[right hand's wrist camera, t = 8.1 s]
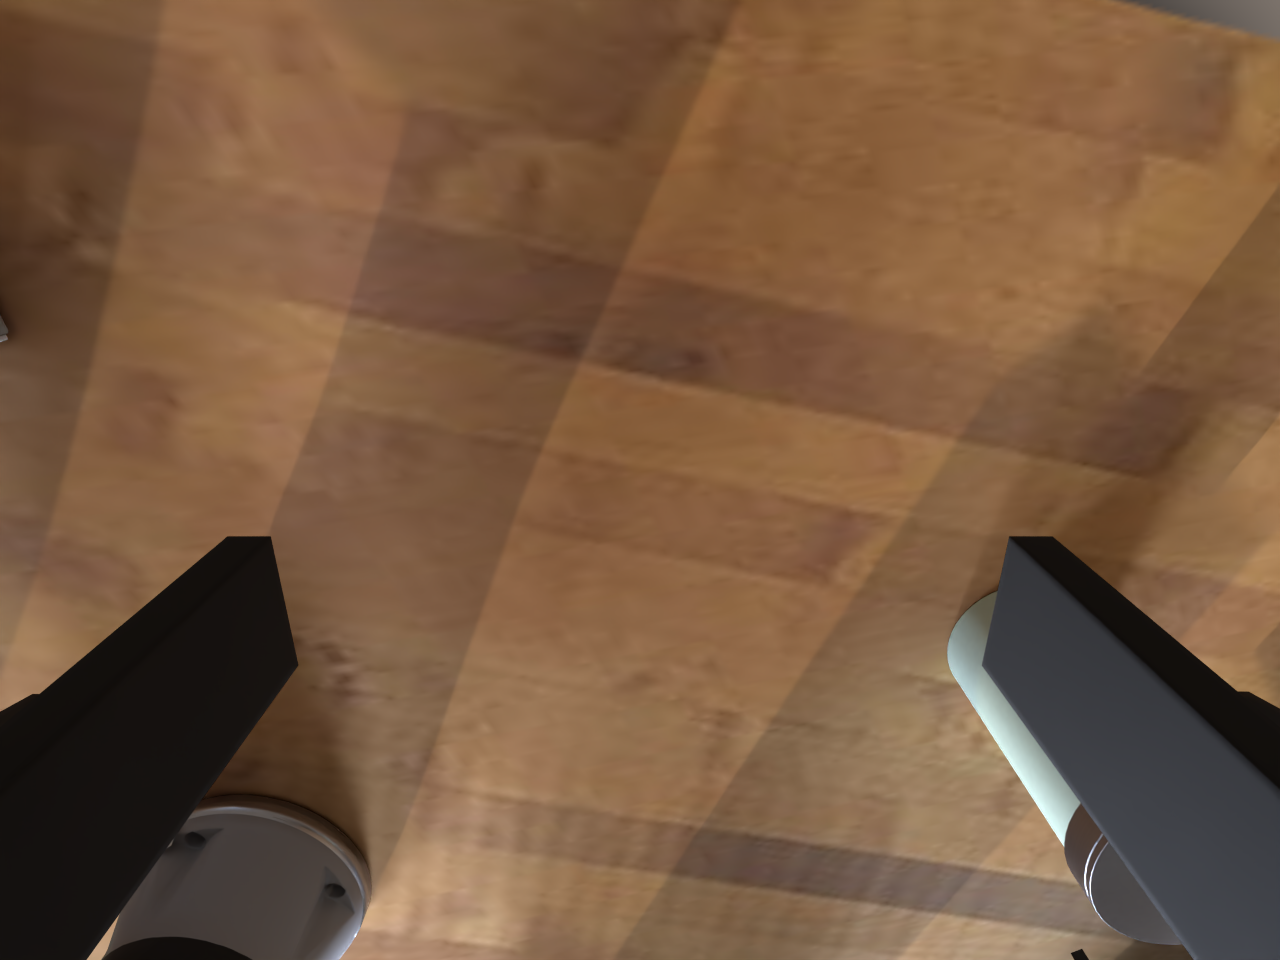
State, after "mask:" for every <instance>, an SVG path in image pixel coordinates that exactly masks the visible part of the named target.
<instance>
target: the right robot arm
mask: <svg viewBox="0 0 1280 960" xmlns="http://www.w3.org/2000/svg"><path fill="white" fill-rule="evenodd" d="M297 667H298V661H297V657H296V652H295V648H294V643H293V638H292V634H291V629H290V624H289V620H288V615H287V610H286V606H285V601H284V596H283V592H282V587H281V582H280V578H279V573H278V568H277V564H276V559H275V554H274V550H273V545H272V540H271V536H228V537H226V538H225V539H224V540H223V541H222V542H220V543H219V544H218V545H217V546H216V547H214V548H213V549H212V550H211V551H210V552H208V553H207V554H206V555H205V556H204V557H202V558H201V559H200V560H199V561H198V562H197V563H195V564H194V565H193V566H192V567H191V568H189V569H188V570H187V571H186V572H185V573H183V574H182V575H181V576H180V577H179V578H177V579H176V580H175V581H174V582H173V583H171V584H170V585H169V586H168V587H167V588H166V589H164V590H163V591H162V592H161V593H160V594H158V595H157V596H156V597H155V598H154V599H152V600H151V601H150V602H149V603H148V604H146V605H145V606H144V607H143V608H142V609H140V610H139V611H138V612H137V613H136V614H135V615H133V616H132V617H131V618H130V619H129V620H127V621H126V622H125V623H124V624H123V625H121V626H120V627H119V628H118V629H117V630H115V631H114V632H113V633H112V634H111V635H109V636H108V637H107V638H106V639H105V640H103V641H102V642H101V643H100V644H99V645H98V646H96V647H95V648H94V649H93V650H92V651H90V652H89V653H88V654H87V655H86V656H84V657H83V658H82V659H81V660H80V661H78V662H77V663H76V664H75V665H74V666H72V667H71V668H70V669H69V670H68V671H67V672H65V673H64V674H63V675H62V676H61V677H59V678H58V679H57V680H56V681H55V682H53V683H52V684H51V685H50V686H49V687H47V688H46V689H45V690H44V691H43V692H41V693H40V694H32V695H30V696H28V697H26V698H24V699H23V700H21V701H19V702H17V703H15V704H14V705H12V706H10V707H8V708H6V709H4V710H3V711H1V712H0V960H87V958H88V957H89V955H90V954H91V953H92V951H93V950H94V949H95V947H96V946H97V944H98V943H99V942H100V940H101V939H102V937H103V936H104V935H105V933H106V932H107V930H108V929H109V928H110V926H111V925H112V924H113V922H114V921H115V919H116V918H117V917H118V915H119V914H120V915H119V917H118V920H117V923H116V926H115V929H114V932H113V935H112V938H111V941H110V944H109V947H108V950H107V952H106V954H105V955H104V957H103V958H102V960H339V959H340V958H341V956H342V955H343V954H344V953H345V951H346V950H347V949H348V947H349V946H350V944H351V943H352V941H353V939H354V938H355V936H356V935H357V933H358V931H359V929H360V927H361V924H362V922H363V919H364V917H365V914H366V911H367V909H368V906H369V903H370V899H371V890H372V885H371V877H370V873H369V870H368V867H367V865H366V862H365V860H364V858H363V857H362V855H361V853H360V852H359V850H358V849H357V847H356V846H355V845H354V844H353V843H352V841H351V840H350V839H349V838H348V837H347V836H346V835H345V834H344V833H343V832H341V831H340V830H339V829H338V828H337V827H335V826H334V825H333V824H331V823H330V822H328V821H327V820H325V819H324V818H322V817H320V816H319V815H317V814H315V813H313V812H311V811H309V810H307V809H304V808H302V807H300V806H297V805H294V804H291V803H288V802H285V801H281V800H278V799H273V798H268V797H262V796H254V795H227V796H218V797H213V798H208V799H204V800H202V798H203V797H204V796H205V794H206V793H207V792H208V790H209V789H210V787H211V786H212V785H213V783H214V782H215V780H216V779H217V778H218V776H219V775H220V773H221V772H222V771H223V769H224V768H225V767H226V765H227V764H228V762H229V761H230V760H231V758H232V757H233V755H234V754H235V753H236V751H237V750H238V748H239V747H240V746H241V744H242V743H243V742H244V740H245V739H246V737H247V736H248V735H249V733H250V732H251V730H252V729H253V728H254V726H255V725H256V723H257V722H258V721H259V719H260V718H261V717H262V715H263V714H264V712H265V711H266V710H267V708H268V707H269V705H270V704H271V703H272V701H273V700H274V698H275V697H276V696H277V694H278V693H279V692H280V690H281V689H282V687H283V686H284V685H285V683H286V682H287V680H288V679H289V678H290V676H291V675H292V673H293V672H294V671H295V669H296V668H297ZM982 667H983V668H984V669H985V671H986V672H987V673H988V675H989V676H990V678H991V679H992V680H993V682H994V683H995V685H996V686H997V687H998V689H999V690H1000V692H1001V693H1002V694H1003V696H1004V697H1005V698H1006V700H1007V701H1008V703H1009V704H1010V705H1011V707H1012V708H1013V710H1014V711H1015V712H1016V714H1017V715H1018V717H1019V718H1020V719H1021V721H1022V722H1023V723H1024V725H1025V726H1026V728H1027V729H1028V730H1029V732H1030V733H1031V735H1032V736H1033V737H1034V739H1035V740H1036V742H1037V743H1038V744H1039V746H1040V747H1041V748H1042V750H1043V751H1044V753H1045V754H1046V755H1047V757H1048V758H1049V760H1050V761H1051V762H1052V764H1053V765H1054V767H1055V768H1056V769H1057V771H1058V772H1059V773H1060V775H1061V776H1062V778H1063V779H1064V780H1065V782H1066V783H1067V785H1068V786H1069V787H1070V789H1071V790H1072V792H1073V793H1074V794H1075V796H1076V797H1077V798H1078V800H1079V801H1080V803H1081V804H1082V805H1083V807H1084V808H1085V810H1086V811H1087V812H1088V814H1089V815H1090V817H1091V818H1092V819H1093V821H1094V822H1095V824H1096V825H1097V826H1098V828H1099V829H1100V830H1101V832H1102V833H1103V835H1104V836H1105V837H1106V839H1107V840H1108V842H1109V843H1110V844H1111V846H1112V847H1113V849H1114V850H1115V851H1116V853H1117V854H1118V855H1119V857H1120V858H1121V860H1122V861H1123V862H1124V864H1125V865H1126V867H1127V868H1128V869H1129V871H1130V872H1131V874H1132V875H1133V876H1134V878H1135V879H1136V880H1137V882H1138V883H1139V885H1140V886H1141V887H1142V889H1143V890H1144V892H1145V893H1146V894H1147V896H1148V897H1149V899H1150V900H1151V901H1152V903H1153V904H1154V905H1155V907H1156V908H1157V910H1158V911H1159V912H1160V914H1161V915H1162V917H1163V918H1164V919H1165V921H1166V922H1167V924H1168V925H1169V926H1170V928H1171V929H1172V930H1173V932H1174V933H1175V935H1176V936H1177V937H1178V939H1179V940H1180V942H1181V943H1182V944H1183V946H1184V947H1185V949H1186V950H1187V951H1188V953H1189V954H1190V955H1191V957H1192V958H1193V960H1280V709H1279V708H1278V707H1276V706H1274V705H1272V704H1270V703H1268V702H1267V701H1265V700H1263V699H1261V698H1259V697H1257V696H1256V695H1254V694H1252V693H1250V692H1237V691H1236V690H1235V689H1234V688H1233V687H1231V686H1230V685H1229V684H1228V683H1227V682H1225V681H1224V680H1223V679H1222V678H1221V677H1219V676H1218V675H1217V674H1216V673H1215V672H1213V671H1212V670H1211V669H1210V668H1209V667H1208V666H1206V665H1205V664H1204V663H1203V662H1202V661H1200V660H1199V659H1198V658H1197V657H1196V656H1194V655H1193V654H1192V653H1191V652H1190V651H1188V650H1187V649H1186V648H1185V647H1184V646H1182V645H1181V644H1180V643H1179V642H1178V641H1177V640H1175V639H1174V638H1173V637H1172V636H1171V635H1169V634H1168V633H1167V632H1166V631H1165V630H1163V629H1162V628H1161V627H1160V626H1159V625H1157V624H1156V623H1155V622H1154V621H1153V620H1151V619H1150V618H1149V617H1148V616H1147V615H1145V614H1144V613H1143V612H1142V611H1141V610H1140V609H1138V608H1137V607H1136V606H1135V605H1134V604H1132V603H1131V602H1130V601H1129V600H1128V599H1126V598H1125V597H1124V596H1123V595H1122V594H1120V593H1119V592H1118V591H1117V590H1116V589H1114V588H1113V587H1112V586H1111V585H1110V584H1109V583H1107V582H1106V581H1105V580H1104V579H1103V578H1101V577H1100V576H1099V575H1098V574H1097V573H1095V572H1094V571H1093V570H1092V569H1091V568H1089V567H1088V566H1087V565H1086V564H1085V563H1083V562H1082V561H1081V560H1080V559H1079V558H1078V557H1076V556H1075V555H1074V554H1073V553H1072V552H1070V551H1069V550H1068V549H1067V548H1066V547H1064V546H1063V545H1062V544H1061V543H1060V542H1058V541H1057V540H1056V539H1055V538H1054V537H1052V536H1009V540H1008V545H1007V550H1006V554H1005V559H1004V564H1003V568H1002V573H1001V578H1000V582H999V587H998V592H997V596H996V601H995V606H994V610H993V615H992V620H991V624H990V629H989V634H988V638H987V643H986V648H985V652H984V657H983V661H982Z"/></svg>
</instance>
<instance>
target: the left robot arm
mask: <svg viewBox="0 0 1280 960" xmlns="http://www.w3.org/2000/svg"><path fill="white" fill-rule="evenodd" d="M1071 954H1072V956H1073V958H1074V960H1089V959H1088V958H1087V956H1086V954H1085V953H1084V951H1083V950H1082V949H1080V950H1078V951H1075V952H1072V953H1071Z"/></svg>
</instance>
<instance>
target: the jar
mask: <svg viewBox="0 0 1280 960" xmlns="http://www.w3.org/2000/svg"><path fill="white" fill-rule="evenodd" d="M997 592H998V591H996V592H994V593H991V594H989V595H987V596H986V597H984V598H982V599H981V600H979V601H978V602H976V603H975V604H974V605H972V606H971V607H970V608H969V609H968V610H967V611H966V612H965V613H964V614H963V615H962V616H961V618H960V619H959V621H958V622H957V623H956V625H955V627H954V629H953V631H952V633H951V636H950V639H949V643H948V652H947V656H948V663H949V666H950V669H951V671H952V674H953V675H954V677H955V679H956V680H957V682H958V683H959V685H960V686H961V688H962V689H963V691H964V693H965V694H966V696H967V697H968V699H969V700H970V702H971V703H972V705H973V706H974V708H975V710H976V711H977V713H978V714H979V716H980V717H981V719H982V720H983V722H984V723H985V725H986V727H987V728H988V730H989V731H990V733H991V734H992V736H993V737H994V739H995V740H996V742H997V744H998V745H999V747H1000V748H1001V750H1002V751H1003V753H1004V754H1005V756H1006V758H1007V759H1008V761H1009V762H1010V764H1011V765H1012V767H1013V768H1014V770H1015V771H1016V773H1017V775H1018V776H1019V778H1020V779H1021V781H1022V782H1023V784H1024V785H1025V787H1026V788H1027V790H1028V792H1029V793H1030V795H1031V796H1032V798H1033V799H1034V801H1035V802H1036V804H1037V806H1038V807H1039V809H1040V810H1041V812H1042V813H1043V815H1044V816H1045V818H1046V819H1047V821H1048V823H1049V824H1050V826H1051V827H1052V829H1053V830H1054V832H1055V833H1056V835H1057V836H1058V838H1059V840H1060V841H1061V843H1062V844H1063V846H1064V841H1065V834H1066V830H1067V827H1068V824H1069V822H1070V820H1071V818H1072V816H1073V814H1074V812H1075V810H1076V809H1077V807H1078V806H1079V804H1080V801H1079V800H1078V798H1077V797H1076V796H1075V794H1074V793H1073V792H1072V790H1071V789H1070V787H1069V786H1068V785H1067V783H1066V782H1065V780H1064V779H1063V778H1062V776H1061V775H1060V773H1059V772H1058V771H1057V769H1056V768H1055V767H1054V765H1053V764H1052V762H1051V761H1050V760H1049V758H1048V757H1047V755H1046V754H1045V753H1044V751H1043V750H1042V748H1041V747H1040V746H1039V744H1038V743H1037V742H1036V740H1035V739H1034V737H1033V736H1032V735H1031V733H1030V732H1029V730H1028V729H1027V728H1026V726H1025V725H1024V723H1023V722H1022V721H1021V719H1020V718H1019V717H1018V715H1017V714H1016V712H1015V711H1014V710H1013V708H1012V707H1011V705H1010V704H1009V703H1008V701H1007V700H1006V698H1005V697H1004V696H1003V694H1002V693H1001V692H1000V690H999V689H998V687H997V686H996V685H995V683H994V682H993V680H992V679H991V678H990V676H989V675H988V673H987V672H986V671H985V669H984V668H983V667H982V661H983V657H984V652H985V648H986V643H987V638H988V634H989V629H990V624H991V620H992V615H993V610H994V606H995V601H996V596H997Z"/></svg>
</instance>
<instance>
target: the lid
mask: <svg viewBox="0 0 1280 960" xmlns="http://www.w3.org/2000/svg"><path fill="white" fill-rule="evenodd" d="M1064 849H1065V857H1066V861H1067V864H1068V866H1069V868H1070V870H1071V872H1072V874H1073V875H1074V877H1075V879H1076V880H1077V882H1078V883H1079V885H1080V887H1081V888H1082V890H1083V891H1084V893H1085V894H1086V896H1087V898H1088V899H1089V901H1090V902H1091V904H1092V905H1093V907H1094V909H1095V910H1096V912H1097V913H1098V914H1099V916H1100V917H1101V919H1102V920H1104V921H1105V922H1106V923H1107V924H1108V925H1109V926H1110V927H1112V928H1113V929H1115V930H1116V931H1118V932H1119V933H1121V934H1124V935H1126V936H1128V937H1130V938H1133V939H1136V940H1140V941H1144V942H1149V943H1156V944H1182V943H1181V942H1180V940H1179V939H1178V937H1177V936H1176V935H1175V933H1174V932H1173V930H1172V929H1171V928H1170V926H1169V925H1168V924H1167V922H1166V921H1165V919H1164V918H1163V917H1162V915H1161V914H1160V912H1159V911H1158V910H1157V908H1156V907H1155V905H1154V904H1153V903H1152V901H1151V900H1150V899H1149V897H1148V896H1147V894H1146V893H1145V892H1144V890H1143V889H1142V887H1141V886H1140V885H1139V883H1138V882H1137V880H1136V879H1135V878H1134V876H1133V875H1132V874H1131V872H1130V871H1129V869H1128V868H1127V867H1126V865H1125V864H1124V862H1123V861H1122V860H1121V858H1120V857H1119V855H1118V854H1117V853H1116V851H1115V850H1114V849H1113V847H1112V846H1111V844H1110V843H1109V842H1108V840H1107V839H1106V837H1105V836H1104V835H1103V833H1102V832H1101V830H1100V829H1099V828H1098V826H1097V825H1096V824H1095V822H1094V821H1093V819H1092V818H1091V817H1090V815H1089V814H1088V812H1087V811H1086V810H1085V808H1084V807H1083V805H1082V804H1081V803H1080V804H1079V806H1078V807H1077V809H1076V810H1075V812H1074V814H1073V816H1072V818H1071V820H1070V822H1069V824H1068V827H1067V830H1066V834H1065V841H1064Z"/></svg>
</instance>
